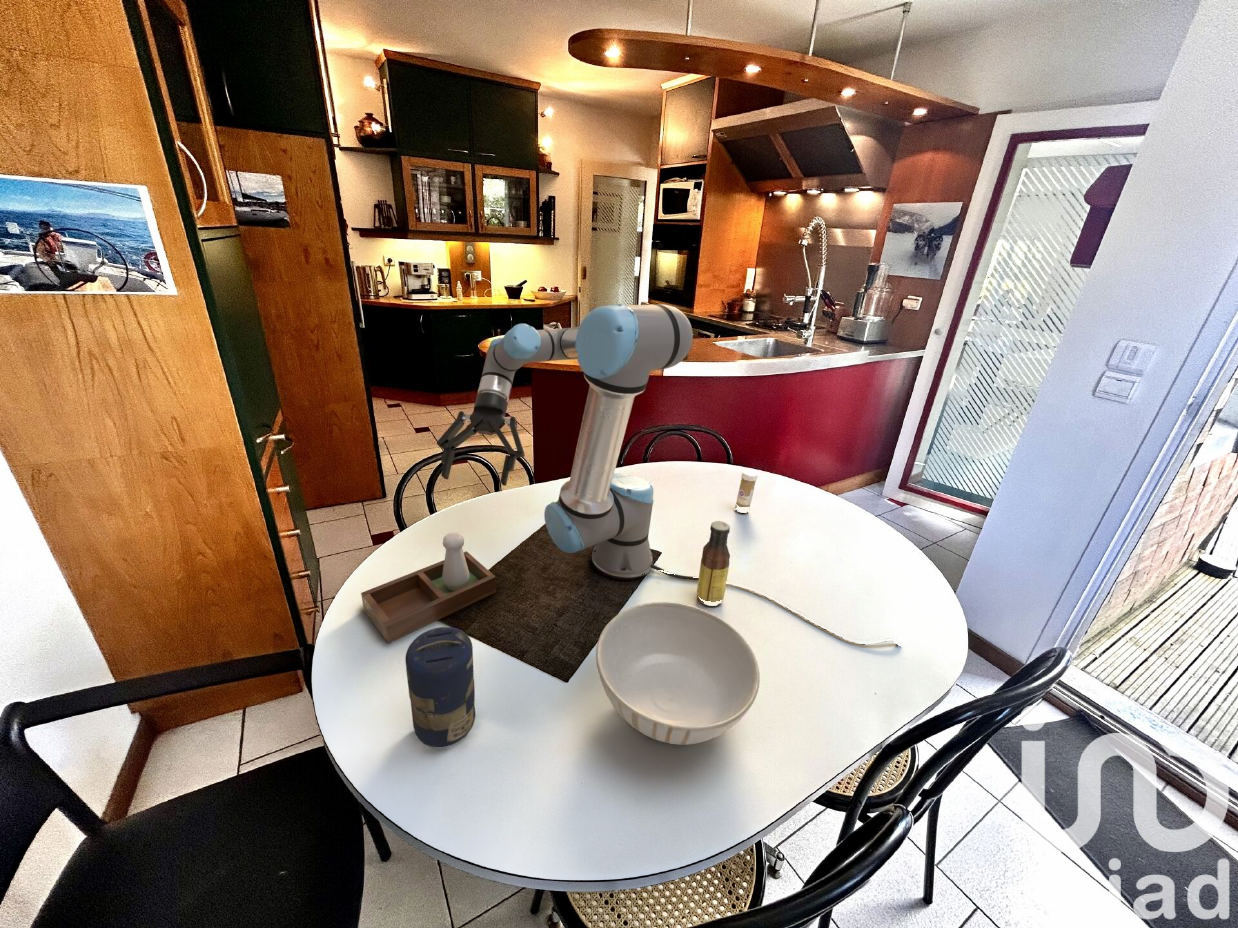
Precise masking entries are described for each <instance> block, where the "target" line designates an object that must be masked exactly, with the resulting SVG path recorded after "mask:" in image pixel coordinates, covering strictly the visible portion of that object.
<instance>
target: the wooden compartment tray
mask: <svg viewBox="0 0 1238 928" xmlns="http://www.w3.org/2000/svg"><path fill="white" fill-rule="evenodd" d="M463 552H464V556H465V560H466V563H467V567H468V570H469V574H470V575H469V580H468V582H467V584H466V586H465V587H463V588H461V589H459V590H456V591H450V590H448V589H447V588H446V586H445V585H444V583H443V582H442V575H443V567H444V560H445V559H443V560H440V561H438V562H436V563H433V564H430V565H428V566H426V567H423V568H420V569H418V570H415V571H413V572H410V573H408V574H405V575H403V576H400V577H397V578H395V579H392V580H390V581H387V582H384V583H381V584H380V585H377V586H374V587H372V588H370V589H367V590H365V591H363V592H360V595H361V602H362V607H363V610H364V612H365V613H366V615H367V616H368V617H369V619H370V620H371V621H372V623H373V624H374V626H375V627H376V629H377V630H378V631H379V633H380V634H381V635H382V637H383V638H384V639H385V641H386V643H388V644H391V643H393V642H396V641H397V640H400V639H401V638H403V637H405V636H408V635H410V634H412V633H414V632H416V631H418V630H420V629H422V628H424V627H427V626H428V625H429V626H430V625H431V624H433V623H435V622H437V621H439V620H441V619H443V618H445V617H448V616H449V615H451V614H454V613H455V612H458V611H460V610H462V609H464V608H466V607H468V606H471V605H472V604H474V603H477V602H479V601H481V600H483V599H485V598H487V597H489V596H491V595H493V594H495V593H497V580H496V579H497V578H496V575H494V574H493V573H492V572H491V571H490V570H489V569H487V568H486V567H485V566H484V565H483V564H482V563H481V562H480V561H479V560H478V559H476V558H475V557H474V556H473V555H472V554H471V553H469V551H467V550H466V551H463Z"/></svg>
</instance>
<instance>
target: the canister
mask: <svg viewBox="0 0 1238 928" xmlns="http://www.w3.org/2000/svg"><path fill="white" fill-rule="evenodd" d="M473 648H474V647H473V643H472V640H471V638H470V636H469V635H468V634H467V633H466V632H465V631H464V630H462V629H460V628H458V627H457V628H456V627H453V626H441V627H435V628H432V629H429V630H426V631H424V632H422V633H420V634H419V635H418V636H417V637H416V638H414V639H413V640H412V642H411V643H410V644H409V645H408V648H407V650H406V653H405V670H406V678H407V687H408V688H407V689H408V697H409V701H410V708H411V717H412V727H413V730H414V735H415V736H416V738H417V739H418V741H420V743H422V744H423V745H425V746H428V747H430V748H437V749H440V748H441V749H442V748H448V747H451V746H453V745H455V744H457V743H459V742H461V740H463V739H464V738H465V737H467V735H468V734H469V733H470V731H471V730H472V728H473V726H474V724H475V720H476V716H477V715H476V713H477V712H476V705H475V701H476V700H475V699H476V698H475V697H476V693H475V691H476V690H475V689H476V687H475V675H474V674H475V673H474V672H475V671H474V652H473V650H474V649H473Z"/></svg>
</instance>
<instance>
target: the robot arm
mask: <svg viewBox="0 0 1238 928" xmlns="http://www.w3.org/2000/svg"><path fill="white" fill-rule="evenodd" d="M579 324H580V325H579V326H575V327H566V328H565V327H564V328H554V329H551V328H550V329H536V328H535V327H533V326H531V325H529V324H527V323H518V324H515V325H514V326H513V327H512V328H511V329H510V330H508V331H507V332H506V333H505V334H504V335H503V337H497V338H493V340H491V341H490V343H489V346H488V348H487V350H486V353H485V354H486V356H485V361H484V365H483V370H482V373H481V378H480V380H479V381H480V382H479V386H478V389H477V395H476V397H475V401H474V405H473V411H472V412H471V414H468V413H465V412H464V411H463V410H461V411H458V414H457V417H456V418H455V420H454V421H453V422H452V423H451V424H450V426H449V427H447V429H446V431H444V433H443V434H442V435H441V437H439V439H438V440H437V441H436V445H437V446H438V447H439V448H440V449H441V450H442V454H441V458H440V462H441V463H442V464H443V466H442V470H441V473H440V475H441V477H442V478H443V479H444V480H449V477H450V473H451V469H452V466H453V462H454V457H455V452H454V450H455V449H457V448H458V447H459V446H461V445H462V444H463V443H464V442H466V441H467V440H468V439H470V438H471V437H473V436H475V435H476V434H479V435H488V436H493V435H495V434H496V436H497V437H498V439H499V441H500V442H501V443H502V445H503V447H504V448H505V450H506V451H507V453H508V454H505V456H504V462H503V466H502V471H501V476H500V481H499V482H500V483H501V485H502V486H504V487H506V486H507V484H508V483H507V482H508V478H509V474H510V472H514V470H515V464H516V461H517V459H518V458H519V459H520V458H525V455H526V454H525V451H524V448H523V445H522V442H521V439H520V435H519V432H518V420H517V419H516V417H515V416H511V417H510V418H506V415H507V410H508V405H509V401H510V400H509V399H510V395H511V391H512V387H513V382H514V378H515V374H516V372H517V370H518V371H519V369H520V368H521V367H522V366H524V365H525V364H531V363H542V362H543V363H544V362H551V361H554V362H555V361H567V360H568V361H571V360H577V364H578V366H579V368H580V369H581V370H582V371H583V377H584V379H585V380H586V382H587V383H588V384H589V385H588V386H589V387H588V392H587V396H586V400H585V405H584V409H583V414H582V421H581V424H580V429H579V435H578V439H577V444H576V448H575V453H574V458H573V463H572V468H571V473H570V478H569V480H567V481H566V482H564V483H563V484H562V485H561V487H560V490H559V495H558V500H557V501H552V502H550V503H549V504H547V505H546V506H545V508H544V514H543V516H544V523H545V528H546V530H547V532H548V534H549V536H550V538H551V540H552V542H553V543H554V545H555V546H556V547H557V548H558V549H559V550H560V551H562V552H563V553H567V554H574V553H576V552H579V551H580V552H583V551H584V550H586V549H589V548H591V547H593V546H594V547H593V548H592V552H591V565H592V566H593V568H594V570H595V571H596V572H598V573H599V574H600V575H602V576H604V577H606V578H609V579H612V580H616V581H634V580H638V579H642V578H643V577H645V576H646V575H648V574H649V573H650V572H651V570H652V569H653V570H655V569H656V570H655V571H658V570H663V571H664V570H665V569H664V568H662V567H660V566H657V565H655V564H653V561H654V559H653V553H652V551H651V545H650V541H649V540H650V539H649V533H650V528H651V519H652V512H653V505H654V502H655V501H654V487H653V485H652V484H651V483H650V482H649V481H648V480H646V479H645V478H643V477H640V476H637V475H634V474H630V473H621V472H617V473H615V471H616V467H617V464H618V460H619V458H620V457H619V456H620V452H621V449H622V446H623V441H624V437H625V434H626V430H627V427H628V423H629V420H630V416H631V412H632V408H633V404H634V401H635V397H636V396H638V395H640V394H642V393H644V392H645V391H646V387H647V385H648V381H649V377H650V374H651V372H654V371H655V372H656V371H661V370H666V369H667V370H668V369H670V368H672V367H675V366H677V365H678V364H680V363H681V362H682V361H683V360H684V359H685V358H686V357H687V355H688V354H689V352H690V351H691V348H692V344H693V340H694V339H693V337H694V333H693V328H692V324H691V322H690V320H689V318H687V316H686V315H685V313H683V311H681V310H680V309H678V308H677V307H675V306H672V305H668V304H660V303H659V304H623V303H615V304H610V305H604V306H598V307H596V308H594V309H593V310H591V311H590V312H588V313H587V314H586V315H585V316H584V317H583V319H582V321H581V322H580V323H579ZM468 421H470V423H469V424H468ZM465 424H467V425H466V427H465V428H464V429H463V430H461V429H462V428H463V427H464V426H465ZM505 425H507V427H508V429H510V432H511V435H512V438H513V441H514V445H515V447H516V450H514V449H513V447H512V445H511V444H510V442H509V441H508V440H507V438H506V436H505V435H504V433H503V432H502V430H501V429H502V428H503V427H505ZM659 572H660V573H662V574H664V575H666V576H667V577H671V578H674V579H679V580H684V581H685V580H686V581H696V582H698V580H699V578H693V577H694V576H689V575H683V574H677V573H673V574H667V573H664V572H661V571H659ZM644 573H645V574H644ZM642 574H643V575H642ZM674 574H675V575H674Z"/></svg>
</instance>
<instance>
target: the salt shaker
mask: <svg viewBox="0 0 1238 928" xmlns="http://www.w3.org/2000/svg"><path fill="white" fill-rule="evenodd" d="M464 545H465V537H464V536H463V534H461V533H459V532H450V533H447V534H446V535H445V536H443V538H442V546H443V548H444V549H445V554H444V559H443V560H444V567H443V575H442V582H443V583H444V585H445V586H446V588H447V589H448V590H450V591H456V590H459V589H461V588H463V587H465V586H466V584H467V582H468V580H469V575H470V574H469V570H468V567H467V563H466V560H465V556H464V552H465V551H464V549H463V547H464Z"/></svg>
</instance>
